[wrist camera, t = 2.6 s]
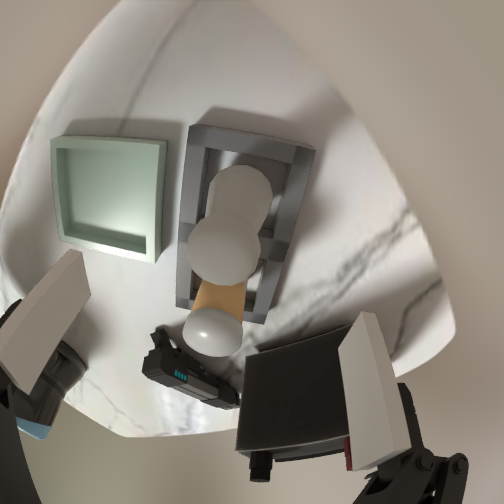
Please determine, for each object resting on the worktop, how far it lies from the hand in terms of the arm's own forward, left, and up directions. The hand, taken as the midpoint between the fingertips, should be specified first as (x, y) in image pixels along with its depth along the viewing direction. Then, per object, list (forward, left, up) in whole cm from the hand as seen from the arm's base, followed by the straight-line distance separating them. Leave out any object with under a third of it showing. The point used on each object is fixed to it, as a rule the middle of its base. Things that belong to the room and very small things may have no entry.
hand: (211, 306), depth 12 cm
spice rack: (0, -5, -17) cm, 17 cm away
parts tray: (-15, -3, -17) cm, 23 cm away
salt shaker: (0, 0, -17) cm, 17 cm away
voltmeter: (+16, -25, -17) cm, 34 cm away
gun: (-2, -31, -17) cm, 36 cm away
